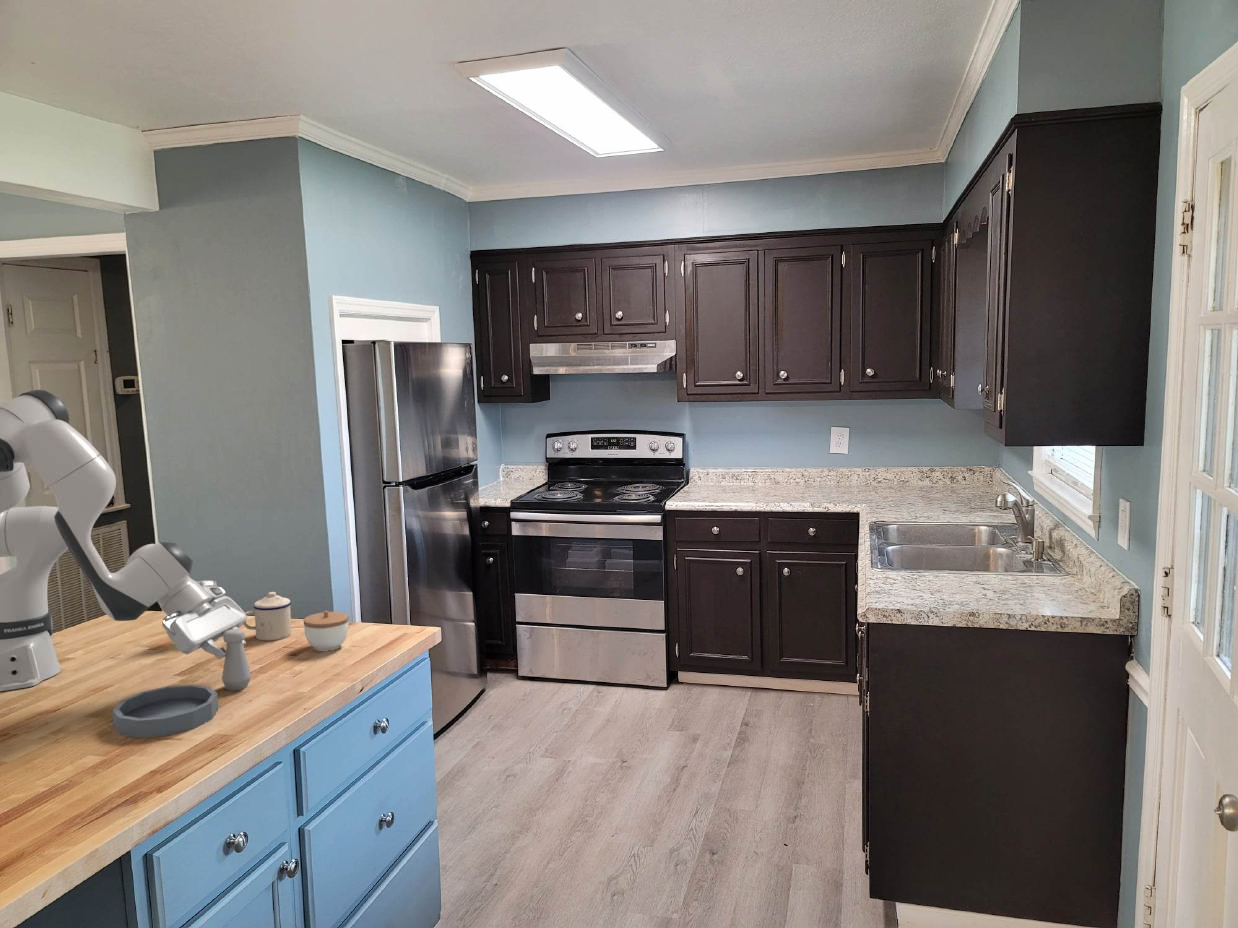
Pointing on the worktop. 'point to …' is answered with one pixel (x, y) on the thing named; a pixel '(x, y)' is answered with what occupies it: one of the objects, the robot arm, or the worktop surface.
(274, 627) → the teacup with lid
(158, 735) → the bowl
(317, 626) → the lidded jar
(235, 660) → the salt shaker
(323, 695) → the worktop surface
